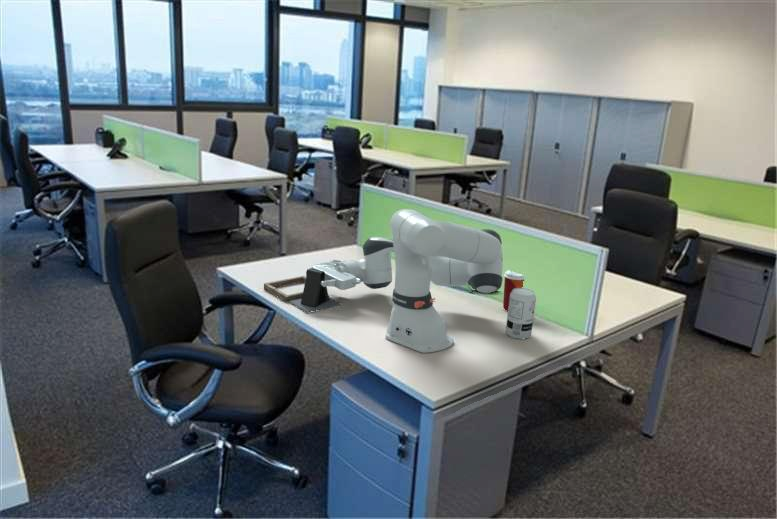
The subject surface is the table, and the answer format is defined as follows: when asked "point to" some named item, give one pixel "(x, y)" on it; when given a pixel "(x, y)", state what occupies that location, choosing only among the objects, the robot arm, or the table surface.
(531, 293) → the supplement can
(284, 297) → the walnut frame
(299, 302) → the charcoal mat
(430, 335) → the robot arm
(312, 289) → the phone stand
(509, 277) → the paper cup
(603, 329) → the table surface
